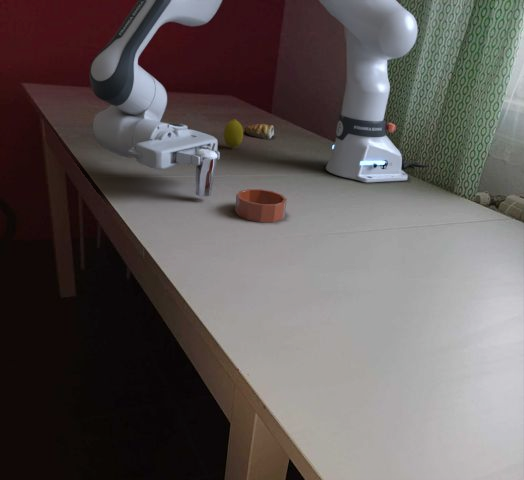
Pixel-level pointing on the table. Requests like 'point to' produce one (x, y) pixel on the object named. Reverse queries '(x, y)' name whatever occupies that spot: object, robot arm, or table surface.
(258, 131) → the pastry
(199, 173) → the milkshake
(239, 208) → the orange round shallow bowl
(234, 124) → the lemon
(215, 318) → the table surface
